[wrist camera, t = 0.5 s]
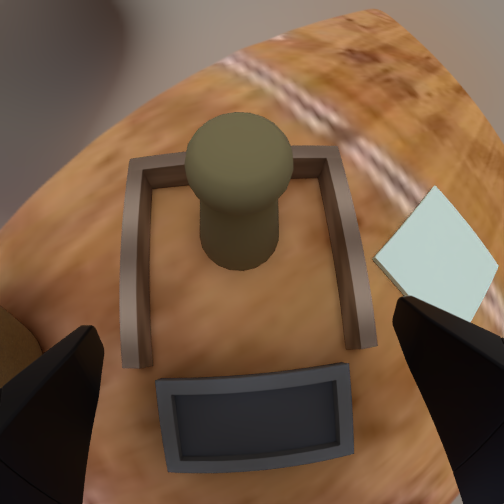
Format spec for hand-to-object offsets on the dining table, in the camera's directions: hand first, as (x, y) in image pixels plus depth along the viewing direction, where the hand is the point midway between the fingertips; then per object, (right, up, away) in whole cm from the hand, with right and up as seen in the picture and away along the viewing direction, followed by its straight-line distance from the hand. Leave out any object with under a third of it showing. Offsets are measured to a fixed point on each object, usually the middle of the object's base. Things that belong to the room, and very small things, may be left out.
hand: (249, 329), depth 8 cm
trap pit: (0, -10, +10) cm, 14 cm away
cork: (-1, +4, +15) cm, 15 cm away
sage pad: (+17, +1, +15) cm, 23 cm away
